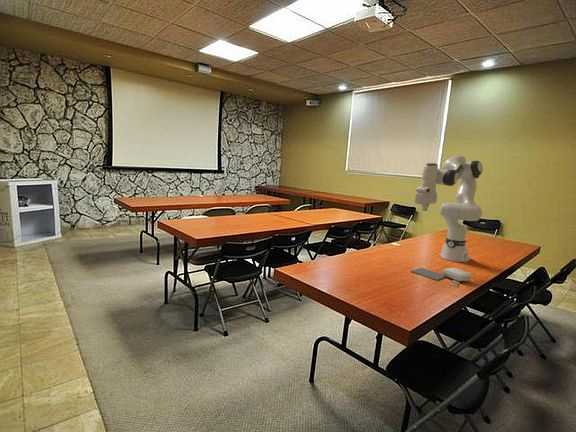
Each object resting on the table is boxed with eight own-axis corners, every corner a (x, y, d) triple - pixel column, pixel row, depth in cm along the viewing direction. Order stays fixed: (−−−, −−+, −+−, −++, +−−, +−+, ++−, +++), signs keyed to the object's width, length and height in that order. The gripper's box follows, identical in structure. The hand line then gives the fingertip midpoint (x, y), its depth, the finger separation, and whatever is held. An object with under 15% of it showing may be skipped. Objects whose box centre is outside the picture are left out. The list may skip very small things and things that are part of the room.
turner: (454, 277, 187) (454, 276, 187) (461, 279, 185) (461, 277, 185) (449, 285, 174) (450, 283, 174) (457, 287, 172) (457, 285, 172)
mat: (421, 268, 199) (421, 267, 199) (447, 276, 187) (447, 275, 187) (410, 271, 192) (410, 270, 192) (436, 280, 179) (437, 279, 179)
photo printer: (455, 266, 191) (474, 273, 179) (454, 273, 191) (473, 280, 180) (442, 268, 187) (461, 275, 175) (441, 275, 187) (460, 282, 176)
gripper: (431, 188, 213) (428, 209, 216) (414, 188, 201) (411, 210, 203) (440, 189, 209) (437, 210, 211) (424, 189, 196) (421, 212, 198)
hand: (424, 210), depth 207 cm, fingers closed
